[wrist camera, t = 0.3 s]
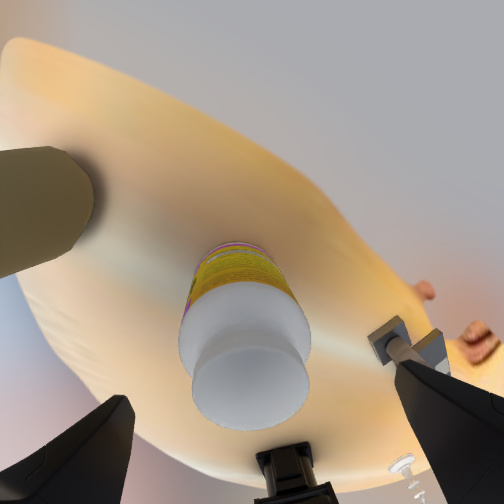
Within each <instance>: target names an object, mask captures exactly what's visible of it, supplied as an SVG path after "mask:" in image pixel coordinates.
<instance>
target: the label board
mask: <svg viewBox="0 0 504 504" xmlns="http://www.w3.org/2000/svg"><path fill="white" fill-rule="evenodd" d="M395 337H401V338H402V339H403V340H404V341H405V342H407V343H408V344H409V345H410V346H411V345H412V344H411V341H410V338H409V335H408V332H407V329H406V327H405V324H404V321H403V320H402V319H401V318H400V317H398V316H396V317H395V318H393V319H392V320H390V321H389V322H388V323H386V324H385V325H384V326H382V327H381V328H379V329H378V330H377V331H375V332H374V333H372V334H371V335H370V336H368V339H369V341H370V343H371V345H372V347H373V349H374V352H375V354H376V356H377V358H378V360H379V361H380V362H381V364H382V365H383V366H384V365H386V364H387V363H388V362H390V361H391V360H393V359H392V358H391V357H390V356H389V354H388V353H387V352H386V347H387V345H388V343H389V342H390V341H391V340H392V339H393V338H395ZM412 348H413V349H414V350H415V351H416V352H417V353H418V354H419V355H420V356H421V357H422V358H423V359H424V360H425V361H426V362H427V363H428V364H429V365H430V366H431V367H432V368H433V369H435V370H437V371H439V372H442V373H444V374H446V375H449V376H451V374H450V368H449V362H448V357H447V352H446V347H445V342H444V337H443V333H442V332H441V331H440V330H438V329H437V328H436V329H435V330H433V331H432V332H431V333H430V334H429V335H427V336H426V337H425V338H424V339H422V340H421V341H420V342H419V343H417V344H416V345H415V346H414V347H412Z"/></svg>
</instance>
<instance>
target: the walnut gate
mask: <svg viewBox="0 0 504 504" xmlns="http://www.w3.org/2000/svg"><path fill="white" fill-rule="evenodd" d="M386 352H387V353H388V354H389V356H390V357H391V358H392V359H393V360H394V361H395V363H396V365H398V363H399V362H400V361H403V360H407V359H411V360H414V361H416V362H418V363H421V364H423V365H425V366H428V367H430V368H432V367H431V366H430V365H429V364H428V363H427V362H426V361H425V360H424V359H423V358H422V357H421V356H420V355H419V354H418V353H417V352H416V351H415V350H414V349H413V348H412V347H411V346H410V345H409V344H408V343H407V342H405V341H404V340H403V339H402V338H401V337H395V338H393V339H392V340H391V341H390V342H389V343H388V345H387V347H386ZM432 369H433V368H432Z"/></svg>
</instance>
